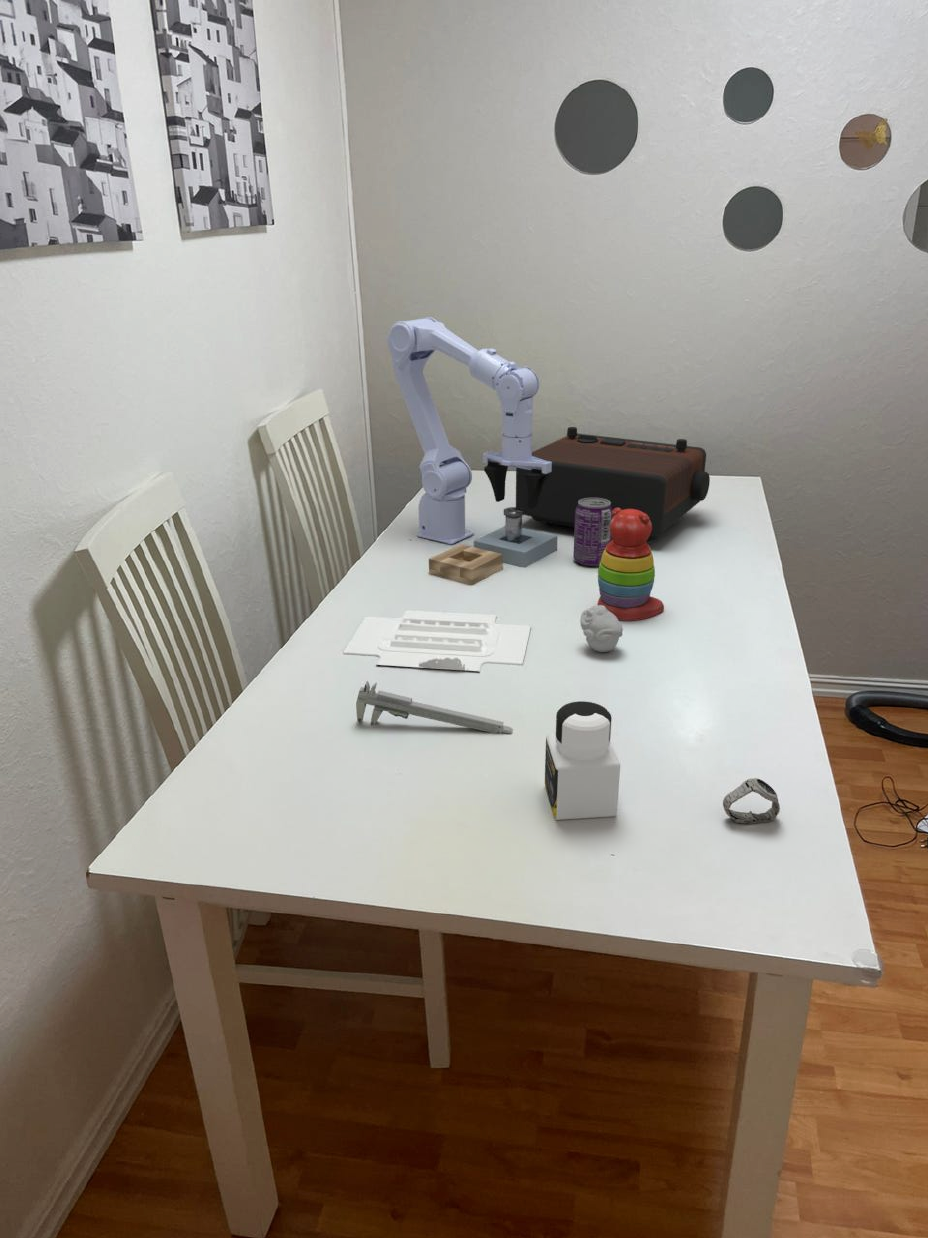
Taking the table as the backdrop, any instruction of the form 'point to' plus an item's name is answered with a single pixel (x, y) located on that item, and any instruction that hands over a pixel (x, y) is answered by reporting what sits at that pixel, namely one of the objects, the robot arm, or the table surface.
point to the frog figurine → (600, 628)
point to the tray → (440, 640)
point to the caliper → (420, 711)
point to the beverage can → (591, 530)
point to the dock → (519, 546)
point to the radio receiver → (617, 478)
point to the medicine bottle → (582, 763)
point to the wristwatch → (750, 817)
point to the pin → (513, 524)
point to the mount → (465, 564)
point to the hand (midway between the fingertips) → (516, 503)
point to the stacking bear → (628, 568)
